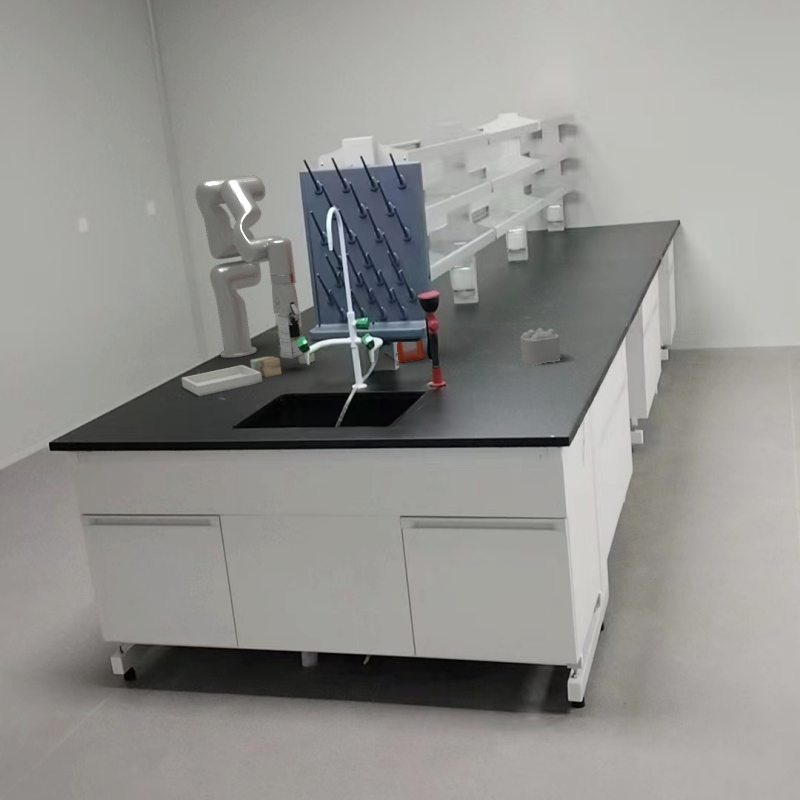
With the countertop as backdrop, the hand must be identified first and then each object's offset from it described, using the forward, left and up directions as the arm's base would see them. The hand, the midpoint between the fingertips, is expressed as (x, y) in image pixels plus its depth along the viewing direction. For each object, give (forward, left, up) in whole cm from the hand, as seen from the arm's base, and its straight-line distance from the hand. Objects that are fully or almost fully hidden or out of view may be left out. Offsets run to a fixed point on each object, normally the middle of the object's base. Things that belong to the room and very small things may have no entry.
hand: (290, 334), depth 322 cm
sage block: (-7, -8, -11) cm, 16 cm away
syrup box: (0, 0, -7) cm, 7 cm away
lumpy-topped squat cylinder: (+54, +56, -11) cm, 78 cm away
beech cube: (0, -8, -11) cm, 14 cm away
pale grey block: (-6, +7, -11) cm, 15 cm away
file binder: (+15, +31, -11) cm, 36 cm away
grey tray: (0, -24, -11) cm, 26 cm away
